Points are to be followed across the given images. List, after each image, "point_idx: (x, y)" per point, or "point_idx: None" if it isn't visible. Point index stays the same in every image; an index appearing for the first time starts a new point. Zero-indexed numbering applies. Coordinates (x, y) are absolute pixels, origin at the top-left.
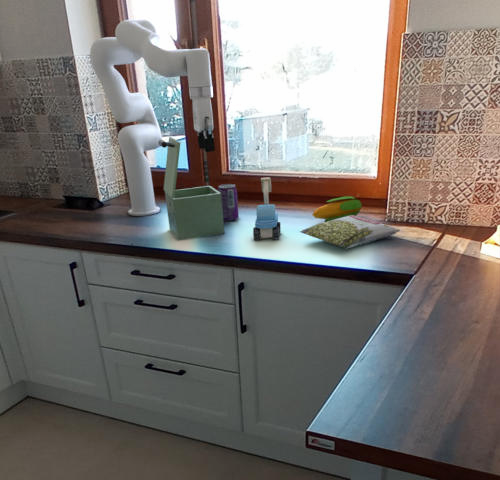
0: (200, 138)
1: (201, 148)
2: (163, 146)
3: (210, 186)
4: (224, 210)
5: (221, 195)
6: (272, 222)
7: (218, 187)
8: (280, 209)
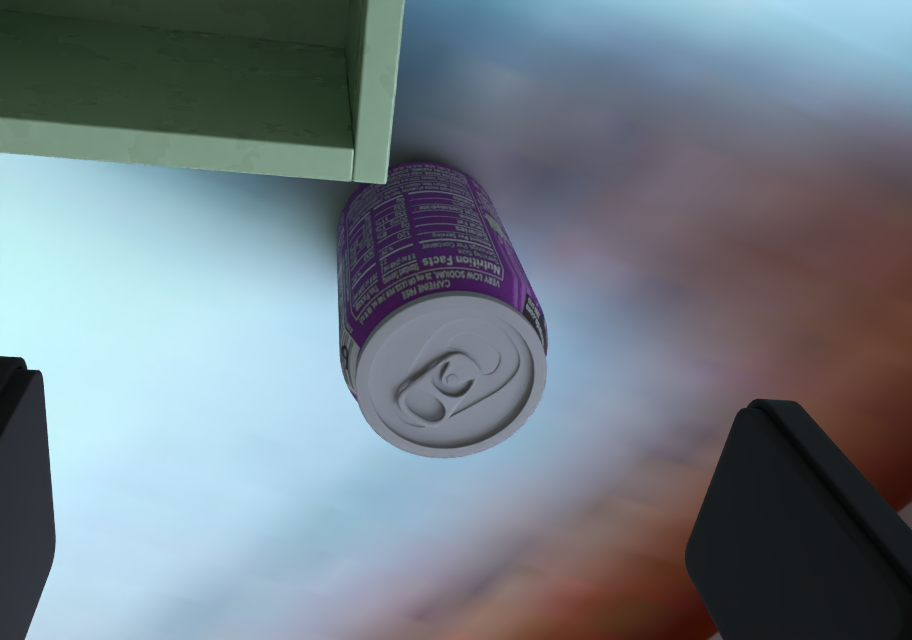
0: (850, 609)
1: (734, 434)
2: None
3: (326, 169)
4: (363, 216)
5: (389, 262)
6: None
7: (472, 293)
8: (452, 591)
